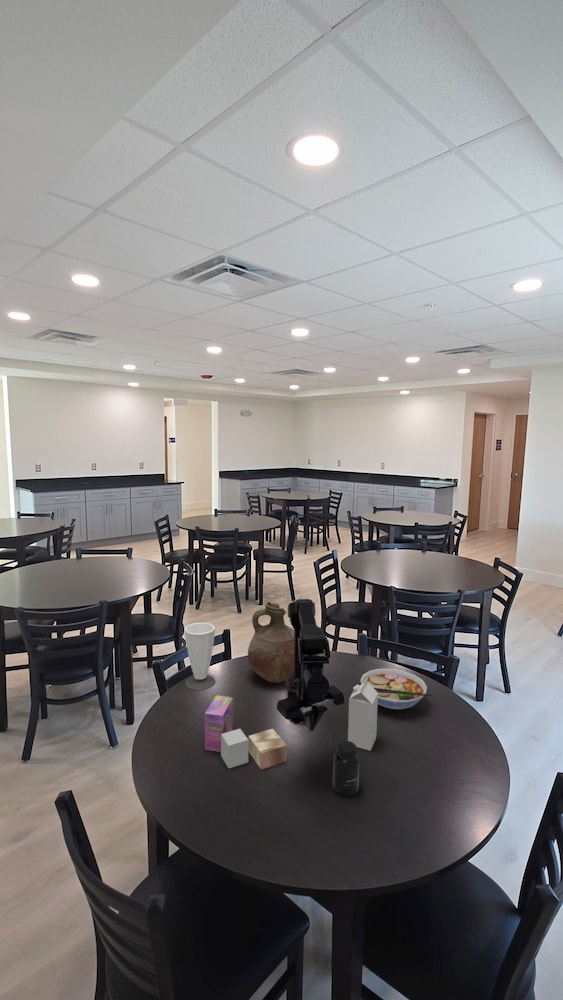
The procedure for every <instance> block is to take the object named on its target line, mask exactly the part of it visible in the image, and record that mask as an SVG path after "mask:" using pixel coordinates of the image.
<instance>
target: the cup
mask: <svg viewBox="0 0 563 1000" xmlns="http://www.w3.org/2000/svg"><path fill="white" fill-rule="evenodd" d="M215 634H216V627H215V625H214V624H212V623H209V622H203V621H202V622H193V623H189V624H188V625H186V626H185V627H184V636H185V643H186V648H187V653H188V659H189V662H190V668H191V671H192V673H193V675H191V676H190V677H189V678H187V679H186V680H185V682H184V685H185V686H186V687H187V688H188V689H190V690H194V691H195V690H196V691H201V690H202V691H203V690H207V689H209V688H212V687H213V686H215V684H216V679H215V678H214V676H212V675H210V674H208V673H209V670H210V665H211V661H212V655H213V649H214V644H215V636H216V635H215Z"/></svg>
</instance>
